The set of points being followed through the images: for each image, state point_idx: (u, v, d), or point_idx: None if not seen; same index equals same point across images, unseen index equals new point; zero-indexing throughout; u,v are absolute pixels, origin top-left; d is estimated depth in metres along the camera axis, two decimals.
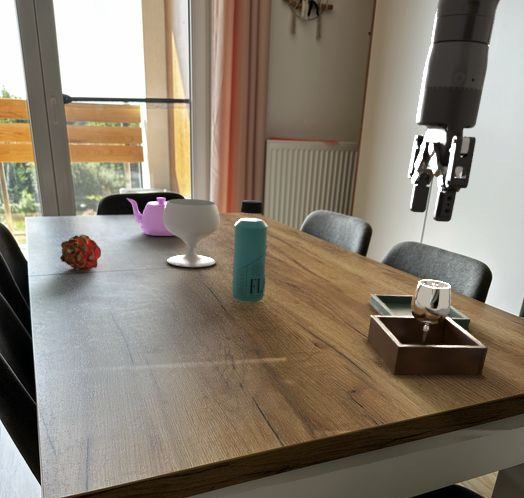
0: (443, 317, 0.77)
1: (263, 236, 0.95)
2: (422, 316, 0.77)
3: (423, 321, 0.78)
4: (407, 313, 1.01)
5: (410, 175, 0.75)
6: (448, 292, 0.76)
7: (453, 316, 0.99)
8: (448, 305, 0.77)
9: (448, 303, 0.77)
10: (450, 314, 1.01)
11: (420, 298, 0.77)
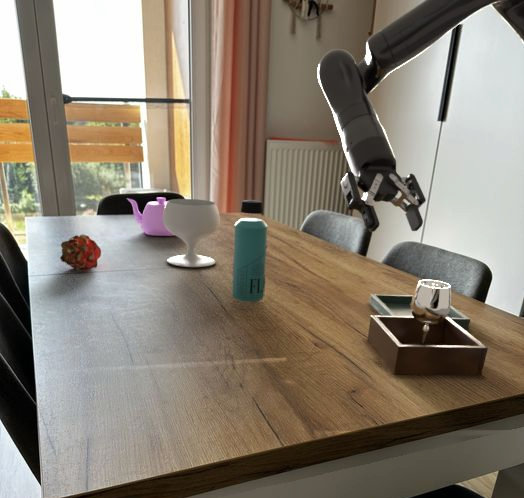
0: (443, 317, 0.77)
1: (263, 236, 0.95)
2: (422, 316, 0.77)
3: (423, 321, 0.78)
4: (407, 313, 1.01)
5: None
6: (448, 292, 0.76)
7: (453, 316, 0.99)
8: (448, 305, 0.77)
9: (448, 303, 0.77)
10: (450, 314, 1.01)
11: (419, 298, 0.77)
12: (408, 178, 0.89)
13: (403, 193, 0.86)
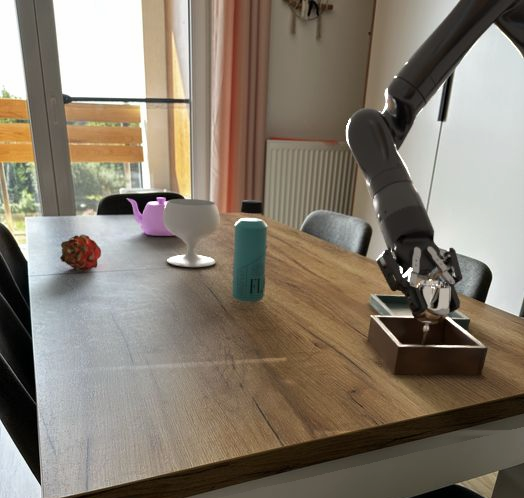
0: (443, 317, 0.77)
1: (263, 236, 0.95)
2: (422, 316, 0.77)
3: (423, 321, 0.78)
4: (407, 313, 1.01)
5: None
6: (448, 292, 0.76)
7: (453, 316, 0.99)
8: (448, 305, 0.77)
9: (448, 303, 0.77)
10: (450, 314, 1.01)
11: None
12: (447, 252, 0.82)
13: (439, 269, 0.79)
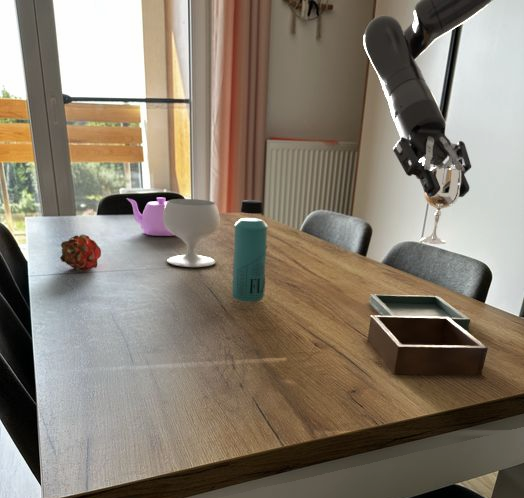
0: (454, 198, 0.85)
1: (263, 236, 0.95)
2: (435, 198, 0.85)
3: (436, 203, 0.85)
4: (407, 313, 1.01)
5: None
6: (459, 174, 0.84)
7: (453, 316, 0.99)
8: (459, 187, 0.84)
9: (459, 185, 0.84)
10: (450, 314, 1.01)
11: None
12: (457, 145, 0.89)
13: (450, 157, 0.87)
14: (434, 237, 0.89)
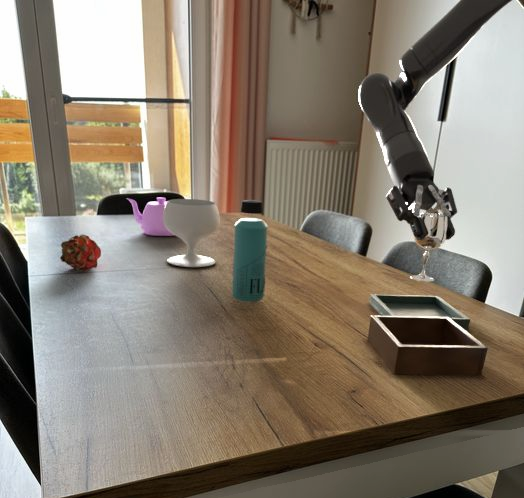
0: (441, 242, 0.93)
1: (263, 236, 0.95)
2: (423, 241, 0.94)
3: (424, 246, 0.94)
4: (407, 313, 1.01)
5: None
6: (445, 220, 0.92)
7: (453, 316, 0.99)
8: (445, 232, 0.93)
9: (445, 230, 0.93)
10: (450, 314, 1.01)
11: None
12: (445, 191, 0.98)
13: (438, 203, 0.95)
14: (423, 275, 0.98)
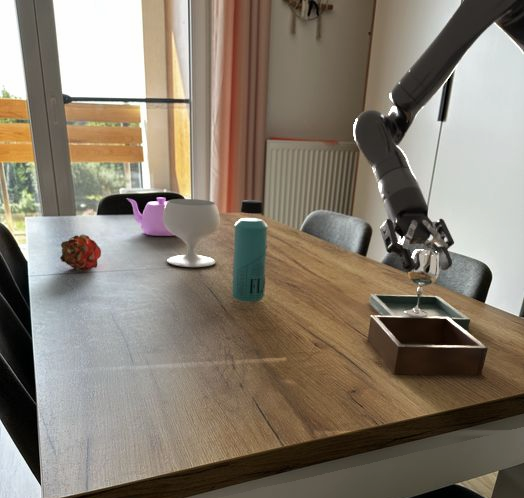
0: (433, 279, 0.96)
1: (263, 236, 0.95)
2: (416, 278, 0.96)
3: (417, 282, 0.97)
4: None
5: None
6: (437, 258, 0.95)
7: (453, 316, 0.99)
8: (437, 269, 0.96)
9: (437, 267, 0.96)
10: (450, 314, 1.01)
11: (415, 263, 0.96)
12: (438, 222, 1.01)
13: (434, 237, 0.98)
14: (417, 310, 1.00)
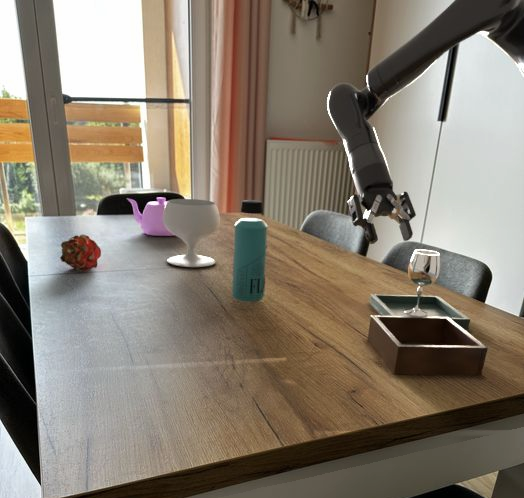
0: (433, 279, 0.96)
1: (263, 236, 0.95)
2: (416, 278, 0.96)
3: (417, 282, 0.97)
4: None
5: None
6: (437, 258, 0.95)
7: (453, 316, 0.99)
8: (437, 269, 0.96)
9: (437, 267, 0.96)
10: (450, 314, 1.01)
11: (415, 263, 0.96)
12: (402, 195, 1.10)
13: (397, 210, 1.07)
14: (417, 310, 1.00)
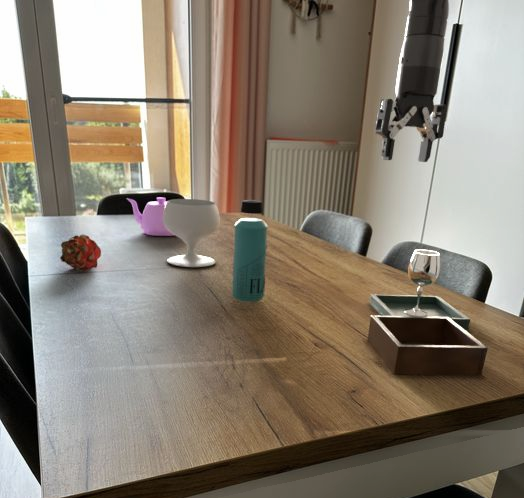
0: (433, 279, 0.96)
1: (263, 236, 0.95)
2: (416, 278, 0.96)
3: (417, 282, 0.97)
4: None
5: None
6: (437, 258, 0.95)
7: (453, 316, 0.99)
8: (437, 269, 0.96)
9: (437, 267, 0.96)
10: (450, 314, 1.01)
11: (415, 263, 0.96)
12: (440, 108, 0.98)
13: (426, 128, 0.98)
14: (417, 310, 1.00)
